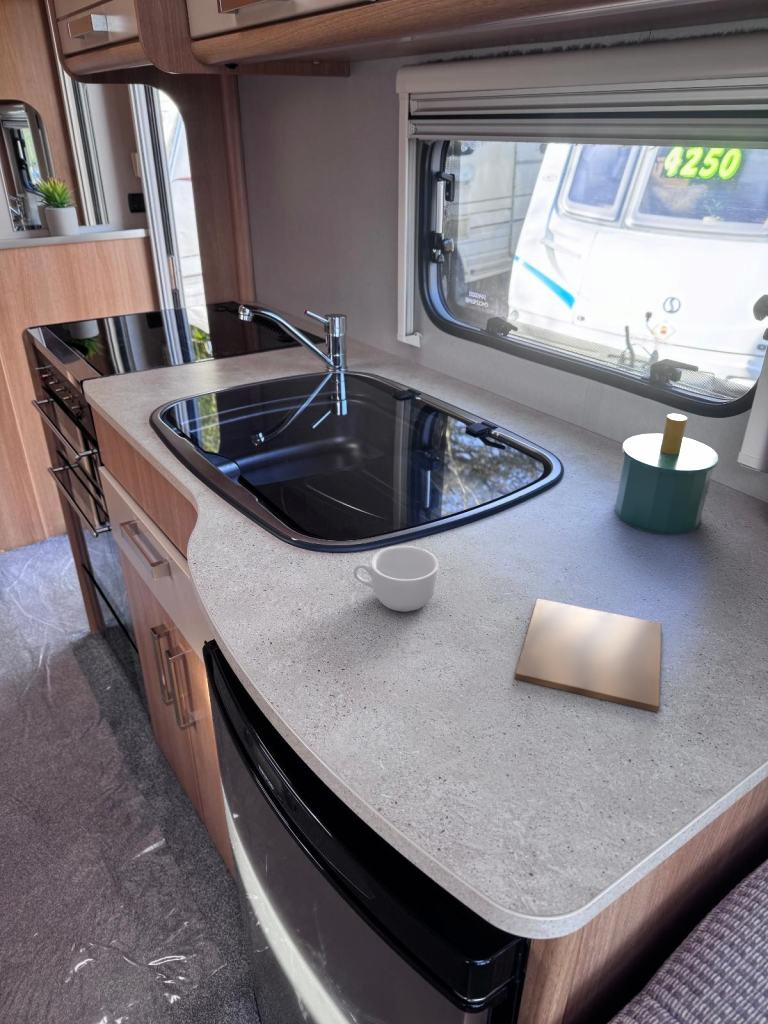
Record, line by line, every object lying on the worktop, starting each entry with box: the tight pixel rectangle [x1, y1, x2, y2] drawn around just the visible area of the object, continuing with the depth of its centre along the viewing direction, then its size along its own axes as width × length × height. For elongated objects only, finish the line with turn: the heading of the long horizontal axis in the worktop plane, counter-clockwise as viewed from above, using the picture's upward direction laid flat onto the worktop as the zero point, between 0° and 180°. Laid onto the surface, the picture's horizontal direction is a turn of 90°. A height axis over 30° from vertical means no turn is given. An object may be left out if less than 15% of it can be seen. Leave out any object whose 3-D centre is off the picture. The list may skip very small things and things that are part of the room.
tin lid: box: [621, 413, 720, 474], centre depth 99 cm, size 13×13×6 cm
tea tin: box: [614, 454, 714, 536], centre depth 103 cm, size 12×12×10 cm
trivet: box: [514, 597, 663, 713], centre depth 78 cm, size 14×14×1 cm
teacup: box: [353, 545, 440, 613], centre depth 85 cm, size 10×8×5 cm
